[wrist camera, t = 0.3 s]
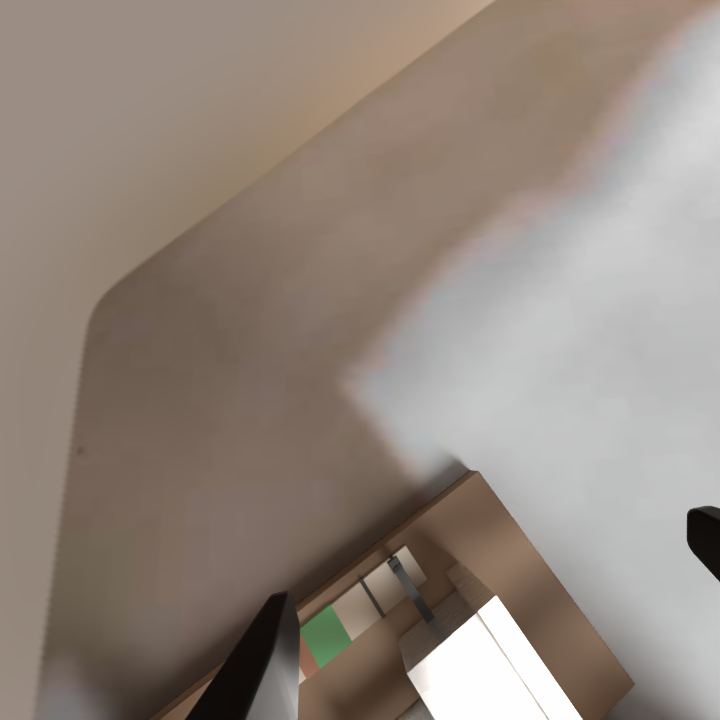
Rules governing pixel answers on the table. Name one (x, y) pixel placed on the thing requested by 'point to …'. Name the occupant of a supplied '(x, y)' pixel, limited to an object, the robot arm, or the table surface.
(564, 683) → the gauge base
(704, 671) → the table surface
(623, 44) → the table surface
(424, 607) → the gauge carriage
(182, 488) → the table surface
